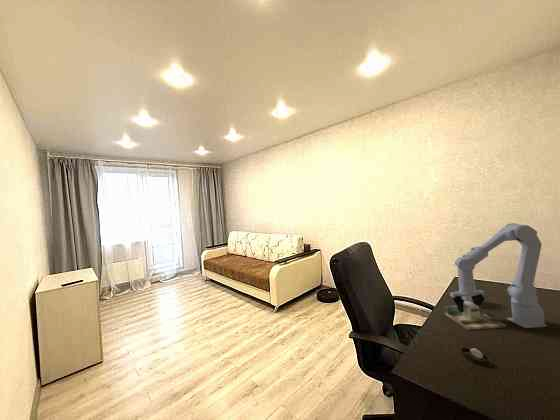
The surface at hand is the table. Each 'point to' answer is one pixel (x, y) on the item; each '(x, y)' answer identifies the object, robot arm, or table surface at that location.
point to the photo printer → (468, 297)
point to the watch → (476, 354)
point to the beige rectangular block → (470, 310)
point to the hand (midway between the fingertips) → (468, 311)
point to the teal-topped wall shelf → (473, 324)
